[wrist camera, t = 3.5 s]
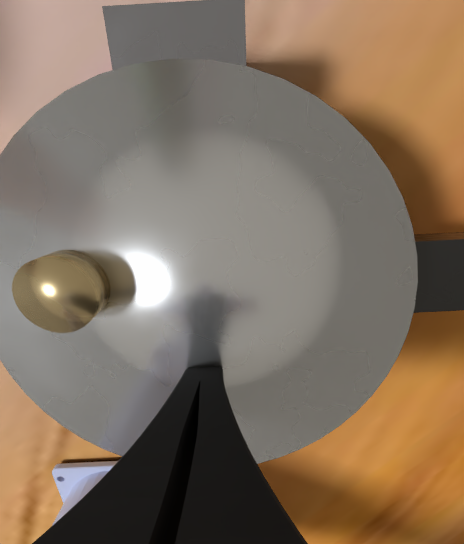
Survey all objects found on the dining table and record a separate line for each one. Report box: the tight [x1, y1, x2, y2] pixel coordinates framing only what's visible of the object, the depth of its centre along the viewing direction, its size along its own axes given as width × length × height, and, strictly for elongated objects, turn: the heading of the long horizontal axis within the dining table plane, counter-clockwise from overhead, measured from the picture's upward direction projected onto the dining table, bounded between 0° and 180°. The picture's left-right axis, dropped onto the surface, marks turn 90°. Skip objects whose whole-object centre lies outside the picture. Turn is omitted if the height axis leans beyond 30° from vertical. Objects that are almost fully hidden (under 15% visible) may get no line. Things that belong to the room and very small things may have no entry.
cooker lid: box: [0, 59, 418, 464], centre depth 9 cm, size 15×15×2 cm
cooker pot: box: [102, 0, 464, 313], centre depth 12 cm, size 16×22×4 cm
